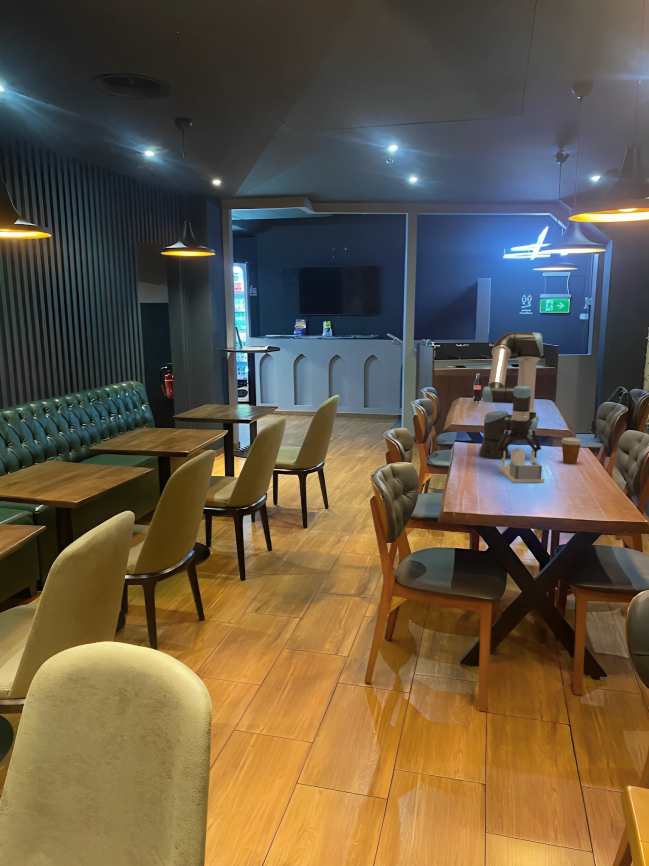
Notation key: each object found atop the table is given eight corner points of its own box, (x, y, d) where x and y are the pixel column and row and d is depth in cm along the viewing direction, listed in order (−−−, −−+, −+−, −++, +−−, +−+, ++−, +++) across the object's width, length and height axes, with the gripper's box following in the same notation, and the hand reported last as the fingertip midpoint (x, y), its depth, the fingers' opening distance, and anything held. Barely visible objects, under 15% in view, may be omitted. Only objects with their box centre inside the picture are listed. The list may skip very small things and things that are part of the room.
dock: (497, 469, 299) (498, 454, 297) (526, 469, 299) (527, 454, 297) (512, 482, 276) (513, 465, 275) (543, 482, 276) (544, 465, 275)
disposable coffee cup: (578, 460, 315) (580, 437, 313) (581, 465, 306) (583, 441, 304) (558, 459, 318) (560, 436, 315) (560, 464, 309) (562, 440, 306)
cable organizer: (516, 467, 296) (517, 446, 294) (528, 472, 287) (529, 451, 285) (506, 468, 295) (507, 447, 293) (518, 473, 286) (519, 452, 284)
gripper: (495, 421, 283) (493, 466, 287) (550, 421, 283) (547, 466, 287) (491, 418, 290) (488, 462, 294) (544, 418, 290) (541, 462, 294)
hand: (517, 464), depth 291 cm, fingers open, 13 cm apart
